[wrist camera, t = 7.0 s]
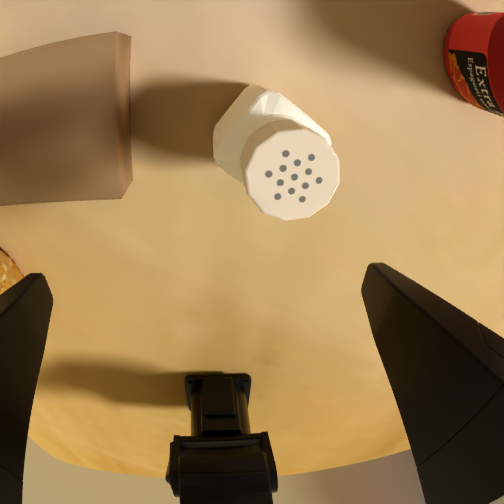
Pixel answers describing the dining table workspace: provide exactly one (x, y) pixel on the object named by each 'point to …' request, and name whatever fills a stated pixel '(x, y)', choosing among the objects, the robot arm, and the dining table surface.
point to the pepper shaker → (276, 154)
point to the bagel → (8, 272)
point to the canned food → (477, 59)
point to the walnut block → (66, 121)
